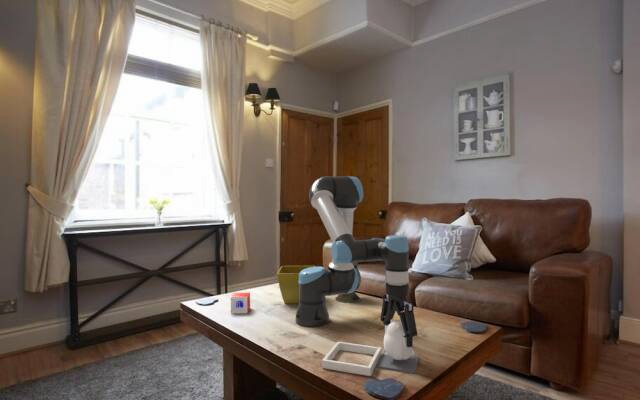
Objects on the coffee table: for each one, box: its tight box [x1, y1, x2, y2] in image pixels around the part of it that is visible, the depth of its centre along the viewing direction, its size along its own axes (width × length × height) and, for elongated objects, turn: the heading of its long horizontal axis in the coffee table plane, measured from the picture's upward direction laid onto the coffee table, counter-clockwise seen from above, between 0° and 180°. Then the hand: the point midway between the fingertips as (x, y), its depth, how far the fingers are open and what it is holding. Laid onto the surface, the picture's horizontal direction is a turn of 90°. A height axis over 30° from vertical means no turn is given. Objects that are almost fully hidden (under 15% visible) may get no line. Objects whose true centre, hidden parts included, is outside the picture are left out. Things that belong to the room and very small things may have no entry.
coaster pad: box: [375, 350, 420, 375], centre depth 120 cm, size 12×12×1 cm
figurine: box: [382, 319, 415, 360], centre depth 120 cm, size 10×10×12 cm
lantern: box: [334, 262, 362, 304], centre depth 195 cm, size 14×14×25 cm
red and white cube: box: [230, 292, 251, 314], centre depth 177 cm, size 8×8×8 cm
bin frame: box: [321, 341, 382, 377], centre depth 121 cm, size 16×16×2 cm
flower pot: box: [276, 265, 316, 304], centre depth 194 cm, size 19×19×17 cm
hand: (398, 349), depth 120 cm, fingers closed on figurine, 10 cm apart
